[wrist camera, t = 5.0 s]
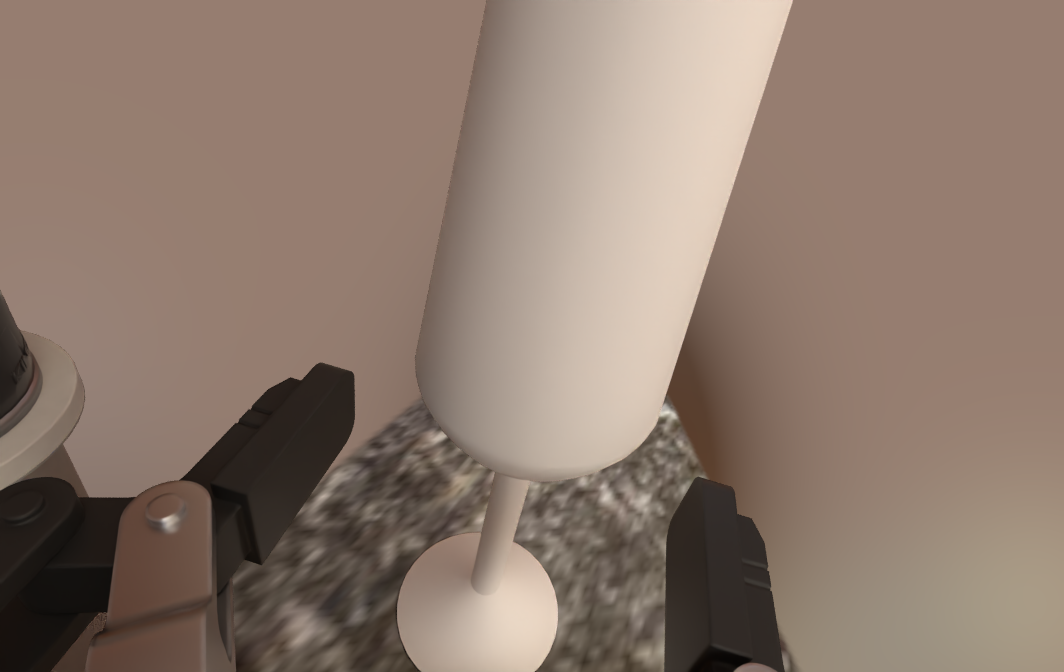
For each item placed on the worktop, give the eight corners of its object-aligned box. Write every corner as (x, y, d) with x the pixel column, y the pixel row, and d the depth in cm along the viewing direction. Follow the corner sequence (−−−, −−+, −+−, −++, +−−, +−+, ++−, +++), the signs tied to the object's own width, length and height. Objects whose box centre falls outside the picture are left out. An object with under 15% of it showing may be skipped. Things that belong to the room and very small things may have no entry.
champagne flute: (421, 519, 25) (498, -182, 11) (563, 547, 25) (820, -104, 11) (372, 677, 20) (398, -314, 5) (553, 712, 20) (1035, -156, 6)
